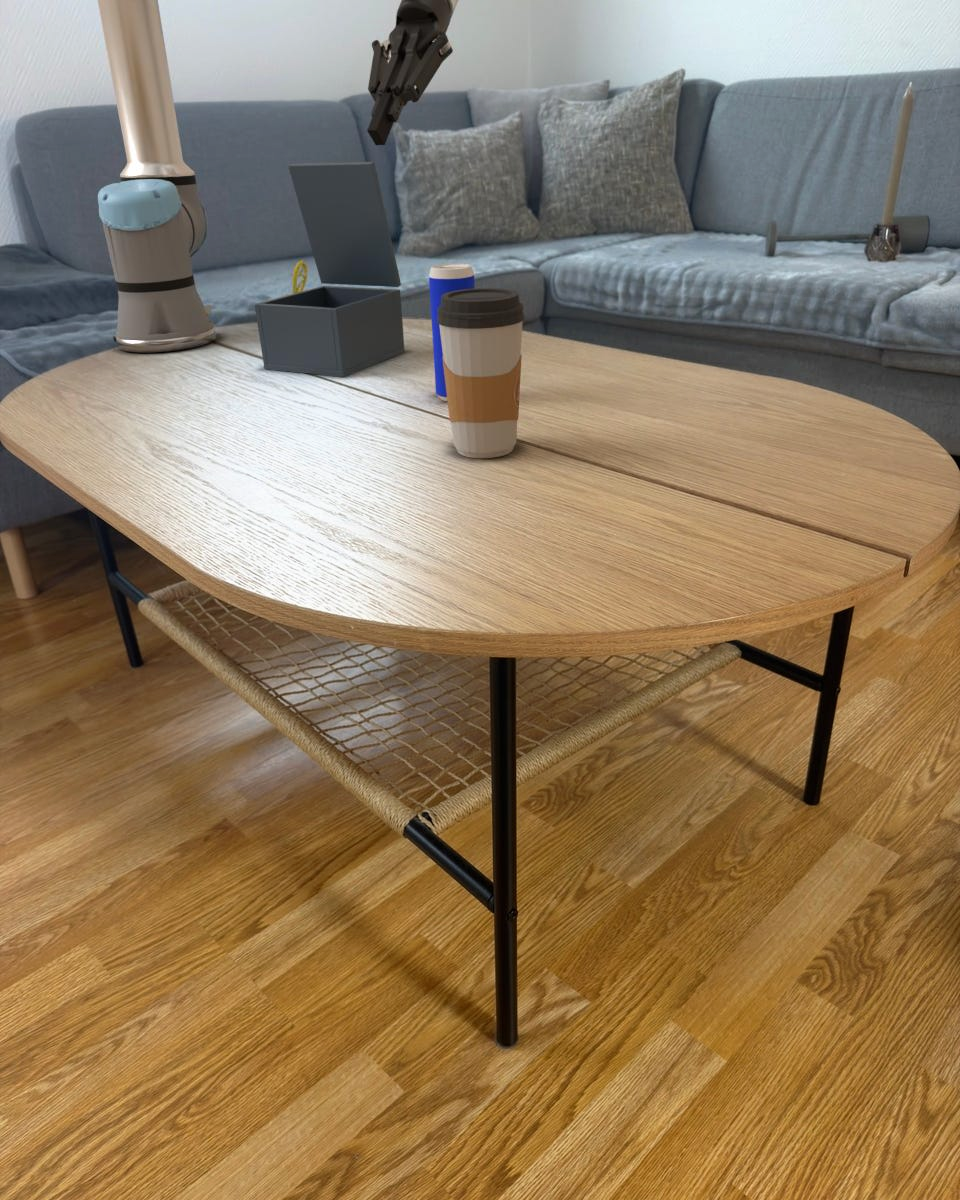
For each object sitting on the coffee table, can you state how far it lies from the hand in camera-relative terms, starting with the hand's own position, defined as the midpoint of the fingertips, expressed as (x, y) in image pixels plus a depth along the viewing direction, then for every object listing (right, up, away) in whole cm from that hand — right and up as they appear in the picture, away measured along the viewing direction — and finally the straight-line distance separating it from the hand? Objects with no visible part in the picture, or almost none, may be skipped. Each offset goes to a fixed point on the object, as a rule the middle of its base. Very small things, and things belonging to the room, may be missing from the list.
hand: (376, 137), depth 123 cm
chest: (-6, -31, +2) cm, 32 cm away
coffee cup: (+15, -50, -35) cm, 63 cm away
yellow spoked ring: (-17, -21, +22) cm, 35 cm away
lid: (-4, -14, -2) cm, 15 cm away
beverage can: (+12, -41, -18) cm, 46 cm away
